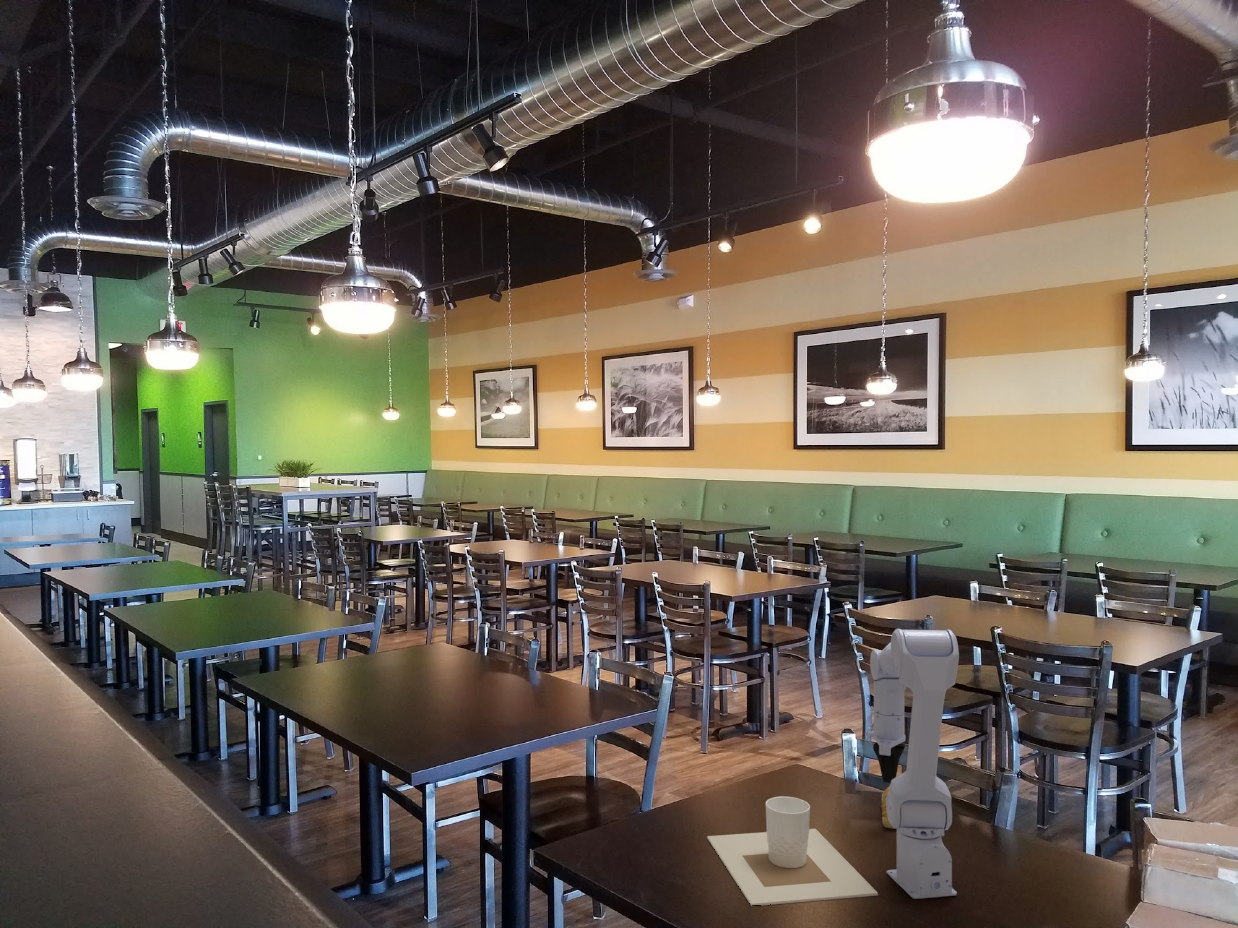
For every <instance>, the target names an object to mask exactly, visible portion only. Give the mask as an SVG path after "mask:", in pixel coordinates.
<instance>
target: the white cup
mask: <svg viewBox="0 0 1238 928" xmlns="http://www.w3.org/2000/svg"><path fill="white" fill-rule="evenodd" d="M810 812H811V805H810V804H809V803H808V802H807V801H806V800H803V799H801V798H797V797H793V796H774V797H771V798H768V799H767V800H766V801H765V819H766V820H765V823H766V832H767V842H768V855H769V860H770V861H771V863H773V864H775V865H777V866H779V867H784V868H798V867H802V866H803V865H805V864H806V858H807V848H808V834H809V829H810V816H811V815H810V814H811V813H810Z"/></svg>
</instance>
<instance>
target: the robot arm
mask: <svg viewBox="0 0 1238 928" xmlns="http://www.w3.org/2000/svg"><path fill="white" fill-rule="evenodd" d="M957 639H958V638H957V636H956V635H955V633H953V631H952V630H951V629H945V630H944V629H943V630H941V629H935V630H934V629H901V628H895V629H894V631H893V632H892V634H891V638H890V642H889V643H888V644H887V645H886V646H885V647H884V648H883V649H882V650H881V649H874V648H873V649H872V650H871V653H870V660H869V667H870V674H871V677H872V679H873V730H868V732H867V737H868V738H873V739H874V740H875V742H874V744H872V745H873V746H872V747H873V748H872V749H873V751H874V754H875V755H876V758H877V760H878V764H879V768H880V774H881V779H882V782H884V783H890V784H889V786H890V788H889V792H888V794H887V798H886V809H887V816H888V820H889V823H890V824H891V825H892V827H893V828H892V829H896V869H888V870H886V874H887V875H888V876H889V877H890V878H891V879H892V880H893V881H894V882H895V883H896V884H897V885H898V886H900V887H901V888H902V889H903V891H905V893H907V894H908V895H909V896H910V897H911V898H912V899H915V900H917V899H918V900H919V899H928V898H929V899H930V898H941V897H952V896H957V895H958V894H957V893H958V892H957V891H956V890H955V889H954V888H953V859H952V855H951V853H950V851H949V850H948V849H947V848H946V846H945V845H944V843H943V840H942V837H944V836H945V831H948V830H949V829H950V827H951V825H952V823H953V810H952V795H951V793H950V790H949V787H948V786H947V784H946V782H944V780H942V779H941V778H940V777H938V776H937V771H938V762H939V761H938V759H939V752H940V742H941V741H940V740H941V731H942V722H943V713H944V712H943V711H944V704H945V698H946V692H947V690H948V689H950V688H951V687H953V686H954V685H956V679H957V677H958V669H959V661H960V660H959V659H960V652H959V651H960V650H959V644H958V640H957ZM907 688H908V689H909V690H911V692H912V706H911V716H910V728H909V735H908V736H909V737H908V738H909V739H908V750H907V757H906V759H907V760H906V770H905V771H904V772H902V773H901V774H899V775H898V776H897V774H898V768H899V763H900V759H901V757H902V754H903V753H904V752H905V751H904V750H905V747H906V744H905V743H904V742H905V741H906V734H905V691H906V690H907Z"/></svg>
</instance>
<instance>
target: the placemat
mask: <svg viewBox="0 0 1238 928" xmlns="http://www.w3.org/2000/svg"><path fill="white" fill-rule="evenodd" d="M706 839H707V841H708V842H709V843H710V844H711V846H712V848H713V849H715V850H714V851H715V852H716V854H717V856H718V855H719V856H718V857H719V858H720V860H721V862H722V863H723V865H724V867H725V866H726V867H725V868H726V870H727V871H728V873H729V874H730V876H731V878H732V879H733V881H734V882H735V884H736V885H737V887H738V886H739V887H738V888H739V890H740V889H741V890H740V891H741V893H742V894H743V896H744V898H745V899H746V900H747V902H748V903H750V904H749V905H750V907H753V906H752V905H761V906H768V905H769V906H770V904H771V906H773V905H781V904H782V905H783V904H794V903H806V902H818V901H819V902H820V901H827V900H828V901H829V900H838V899H853V898H863V897H864V898H865V897H873V896H879V893H878V892H877V890H876V889H874V887H873V886H872V885H871V884H870V883H869V882H868V881H867V880H866V879H865V878H864V876H862V875H861V874H860V873H859V872H858V870H856V869H855V868H854V866H852V865H851V863H849V862H848V860H847V859H845V858H844V856H843V855H842V853H840V852H839V851H838V850H837V849H836V848H835V847H834V846H833V845H832V844H831V843H830V842H829V841H828V840H827V839H826V838H825V836H823V835H822V834H821V833H820V832H819V831H818V829H817V828H809V834H808V848H807V858H806V864H805V865H803V866H802V867H798V868H784V867H779V866H777V865H775V864H773V863H771V861H770V860H769V855H768V842H767V831H764V832H749V833H735V834H721V835H719V834H718V835H707V836H706Z"/></svg>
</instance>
